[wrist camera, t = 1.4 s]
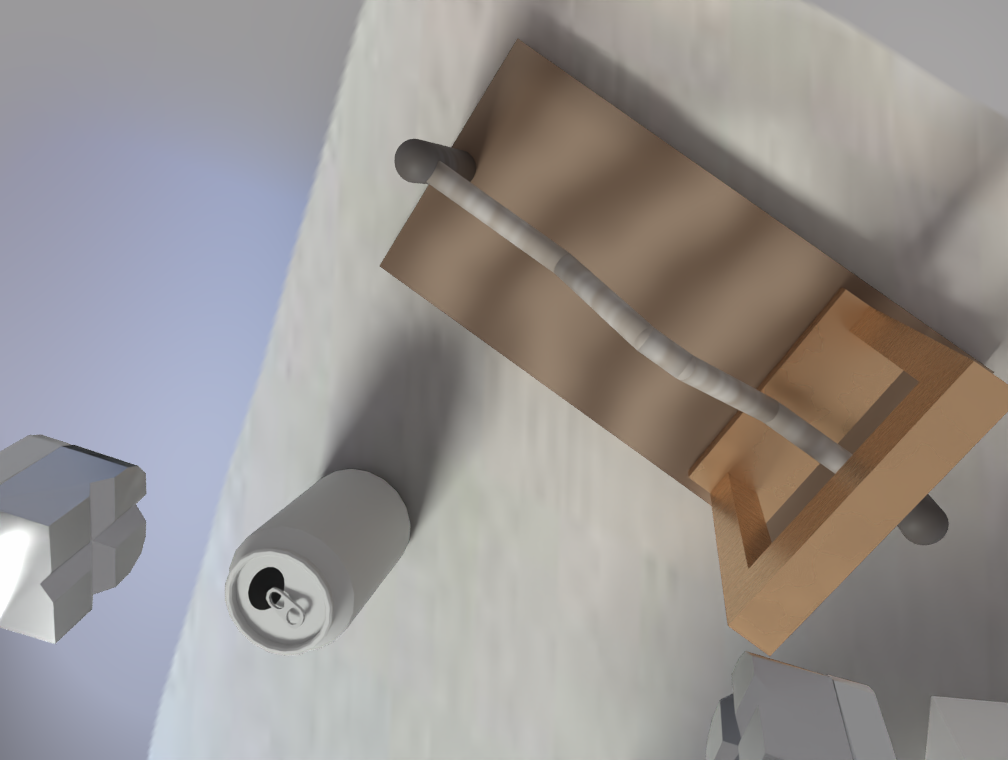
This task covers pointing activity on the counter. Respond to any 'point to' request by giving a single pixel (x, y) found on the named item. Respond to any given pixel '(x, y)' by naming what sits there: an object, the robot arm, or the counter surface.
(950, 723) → the milk
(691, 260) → the buzz board
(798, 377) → the wooden frame
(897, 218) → the counter surface
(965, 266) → the counter surface
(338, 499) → the can
